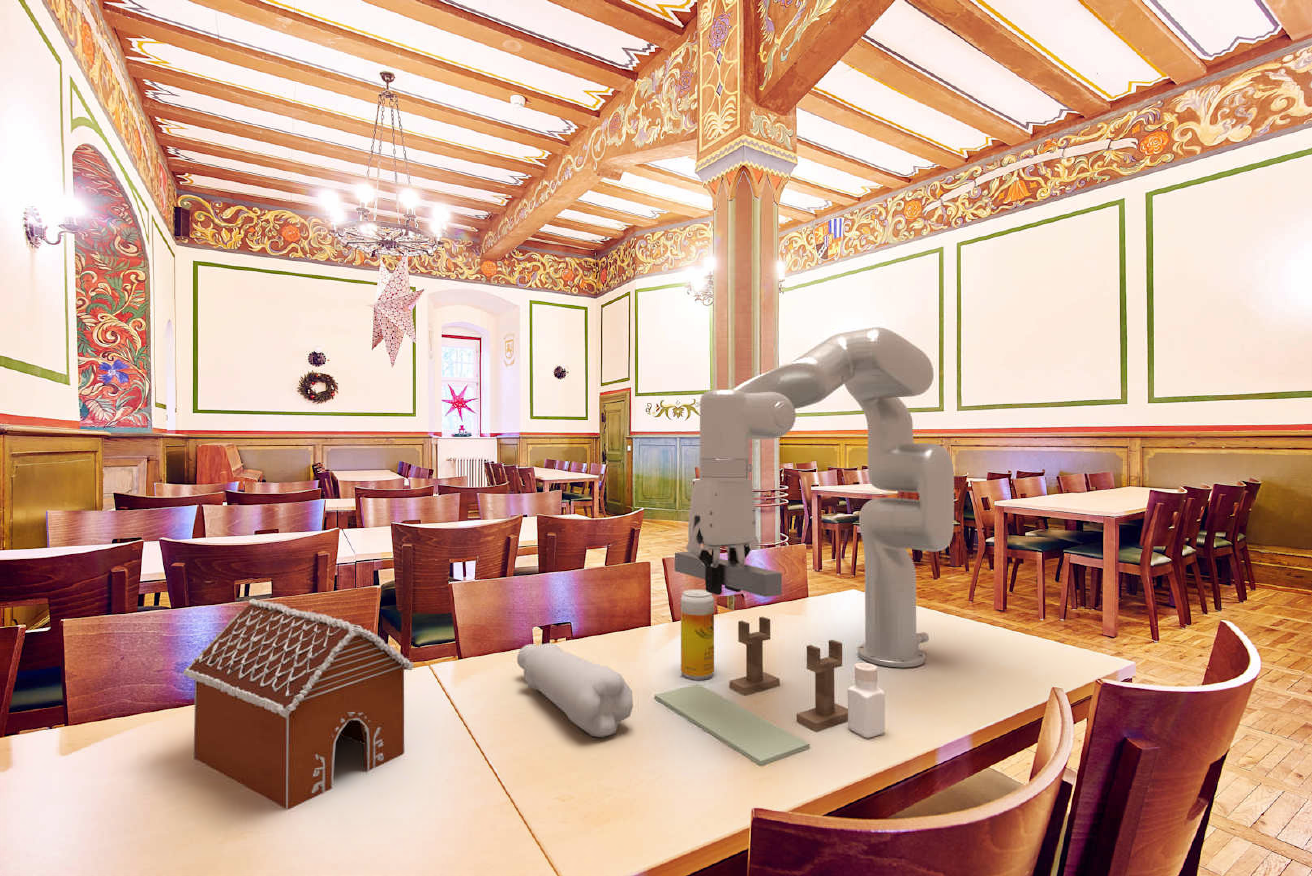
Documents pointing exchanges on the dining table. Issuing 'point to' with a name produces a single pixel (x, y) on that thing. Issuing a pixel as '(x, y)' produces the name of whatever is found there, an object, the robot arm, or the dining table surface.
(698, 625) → the beer can
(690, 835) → the dining table surface
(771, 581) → the rail
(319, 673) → the gingerbread house
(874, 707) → the salt shaker
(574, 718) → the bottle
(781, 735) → the board
